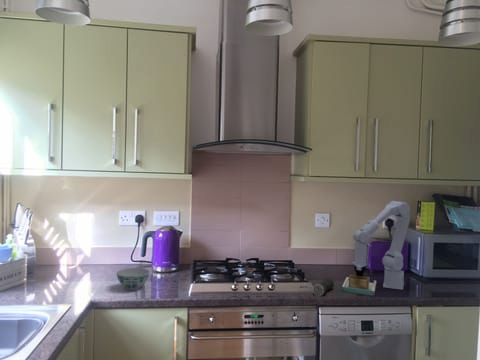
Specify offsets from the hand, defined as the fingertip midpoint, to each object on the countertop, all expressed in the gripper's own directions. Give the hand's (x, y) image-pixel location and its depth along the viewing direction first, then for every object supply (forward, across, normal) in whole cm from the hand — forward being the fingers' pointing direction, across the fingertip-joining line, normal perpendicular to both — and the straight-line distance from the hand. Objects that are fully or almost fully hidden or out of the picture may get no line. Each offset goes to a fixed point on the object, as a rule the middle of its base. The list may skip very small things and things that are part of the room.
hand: (359, 281), depth 196 cm
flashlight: (+4, +15, -15) cm, 22 cm away
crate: (+3, +5, 0) cm, 5 cm away
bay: (+3, 0, 0) cm, 3 cm away
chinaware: (+4, +53, -99) cm, 112 cm away
